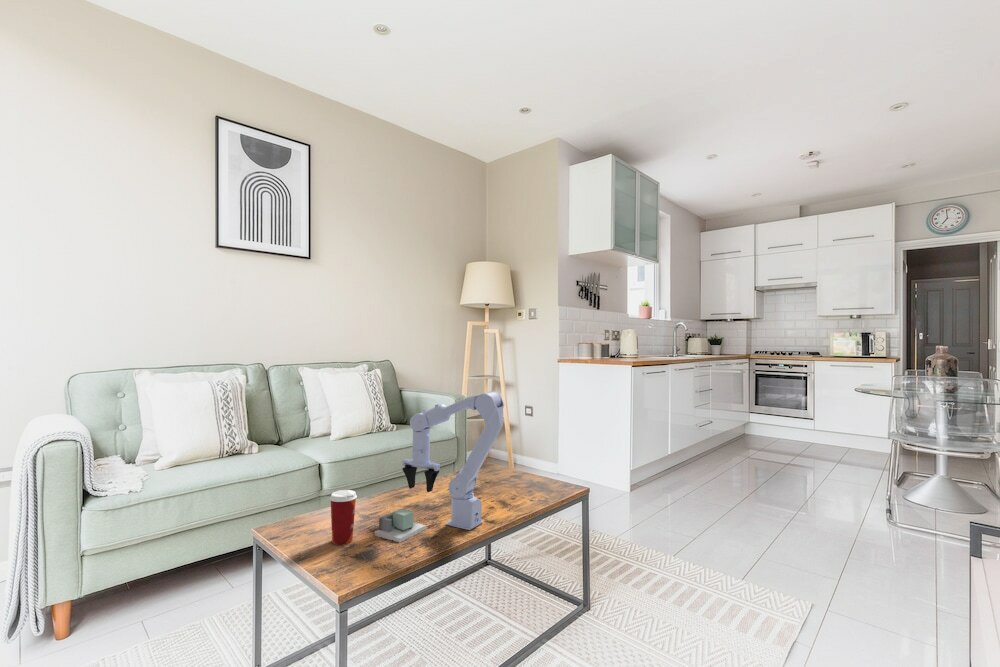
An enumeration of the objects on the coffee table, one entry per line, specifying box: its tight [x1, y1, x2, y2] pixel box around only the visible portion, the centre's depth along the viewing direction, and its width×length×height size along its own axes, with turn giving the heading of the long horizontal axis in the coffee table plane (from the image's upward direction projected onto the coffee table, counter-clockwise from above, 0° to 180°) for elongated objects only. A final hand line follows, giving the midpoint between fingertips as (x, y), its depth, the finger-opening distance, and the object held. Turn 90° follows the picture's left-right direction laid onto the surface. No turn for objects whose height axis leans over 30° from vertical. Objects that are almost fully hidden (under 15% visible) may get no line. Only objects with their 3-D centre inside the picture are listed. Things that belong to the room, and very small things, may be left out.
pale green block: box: [392, 508, 415, 531], centre depth 147 cm, size 5×4×5 cm
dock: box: [374, 511, 427, 543], centre depth 147 cm, size 10×12×5 cm
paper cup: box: [329, 489, 358, 546], centre depth 140 cm, size 8×8×14 cm
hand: (420, 489), depth 160 cm, fingers open, 7 cm apart
